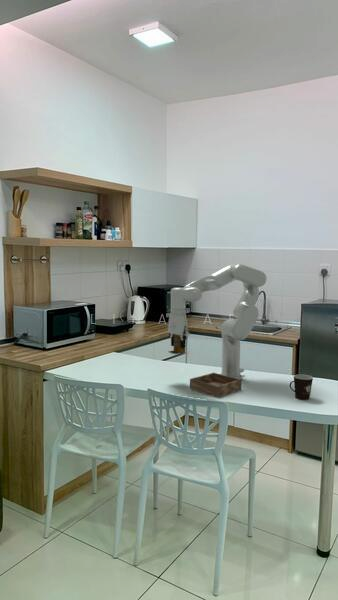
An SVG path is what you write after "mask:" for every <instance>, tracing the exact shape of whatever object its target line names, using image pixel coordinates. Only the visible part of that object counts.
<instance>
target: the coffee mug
mask: <svg viewBox="0 0 338 600" xmlns="http://www.w3.org/2000/svg"><path fill="white" fill-rule="evenodd" d="M313 379H314V377H313V376H312V375H307V374H301V373H300V374H294V375H293V380H291V381H290V383H289V388H290V390H291V391H292V392H294V396H295V397H294V398H295V399H297V400H301V401H307V400H310V397H311V391H312V385H313V381H314V380H313ZM292 384H294V389H293V387H292Z"/></svg>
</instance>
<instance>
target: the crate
mask: <svg viewBox="0 0 338 600" xmlns="http://www.w3.org/2000/svg"><path fill="white" fill-rule="evenodd" d="M242 382H243V381H242V379H237V378H233V377H229V376H225V375H221V373H217V372H211V373H208V374H207V373H206V374H204V375H201V376H200V375H199V376H196V377H192V378H189V390H192V391H196V392H198V393H203V394H206V395H209V396H212V397H215V398H220V397H223V396H226V395H230V394H232V393H235V391H236V392H239V391H242ZM238 390H239V391H238Z"/></svg>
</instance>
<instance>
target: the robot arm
mask: <svg viewBox="0 0 338 600" xmlns="http://www.w3.org/2000/svg"><path fill="white" fill-rule="evenodd" d="M235 281H240V282H242V285H243V292H242V294H241V297H240V298H239V299H238V302H237V303H236V305H235V306H234V308H233V310H232V311H233V312H232V314H233V316H234V318H236V319H237V320H236V319H226V320H225V321H223V322H222V324H221V327H220V328H221V329H220V330H221V331H220V332H221V339H222V349H221V351H222V353H221V373H220V374H221V375H225V376H229V377H233V378H237V379H240V380H242V379H243V375H242V374H241V373H243V372H245V368H243V367H242V368H241V367H240V365H241V341H243V340H245V339H246V338H247V337H248V336H249V335H250V332H251V331H252V329H253V328H254V326H255V324H256V323H257V321H258V319H259V316H260V315H259V314H260V313H259V309H258V307H257V306H256V303H257V302H258V299H259V296H260V289H259V288H262V287H263V286H264V285H266V282H267V275H266V273H265V272H264V271H261V270H260V269H257V268H253V267H250V266H247V265H245V264H240V263H231V264H228V265H226V266H224V267H223V268H221V269H218V270H217V271H215V272H213V273H211V274H209V275H206V276H203V277H201V278H199V279H196V280H194V281H192V282H190V283H188V284H186V285H184V286H183V287H173V288H171V289H170V314H169V317H168V325H167V327H168V328H167V333H168V335H169V338H170V346H171V347H174V334H176V335H180V337H181V340H180V348H185V349H186V344H187V343H186V341H187V340H188V338H189V336H190V334H191V333H190V332H189V330H188V318H187V314H186V312H187V311H186V308H187V307H186V302H189V303H191V302H192V303H196V302H199V301H200V300H201V298H202V296H203V293H205V292H210V291H211V292H212V291H216V290H219V289H222V288H224V287H225V286H226V285H229V284H230V283H232V282H235ZM183 336H184V337H183Z"/></svg>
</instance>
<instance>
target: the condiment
mask: <svg viewBox="0 0 338 600" xmlns="http://www.w3.org/2000/svg"><path fill="white" fill-rule="evenodd" d="M183 337H184V336H183ZM180 340H181V337H180V335H176V334H174V346H173V350H168V351H167V353H170V354H172V355H180V354H181V355H182V354H187V353H189V351H186V347H185V348H180Z"/></svg>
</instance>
